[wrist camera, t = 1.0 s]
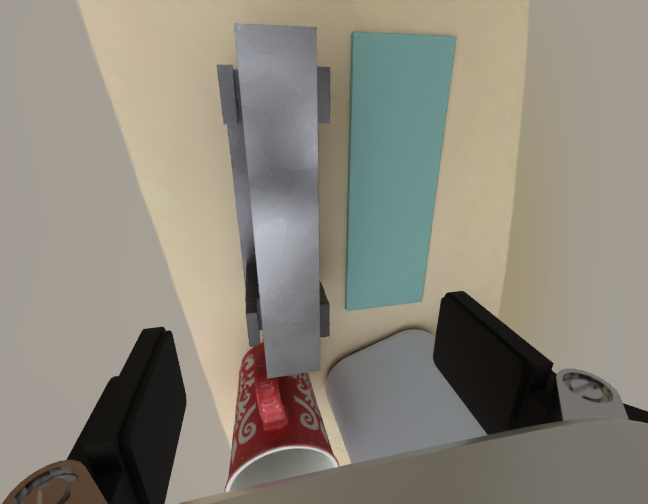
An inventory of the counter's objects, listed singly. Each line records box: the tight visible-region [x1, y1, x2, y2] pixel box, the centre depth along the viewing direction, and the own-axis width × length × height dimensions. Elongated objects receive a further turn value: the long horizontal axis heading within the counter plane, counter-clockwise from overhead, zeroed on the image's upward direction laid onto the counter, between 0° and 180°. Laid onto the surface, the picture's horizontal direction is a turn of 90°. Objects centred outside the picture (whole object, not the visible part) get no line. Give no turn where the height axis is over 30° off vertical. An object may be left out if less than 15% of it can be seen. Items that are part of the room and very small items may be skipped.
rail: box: [234, 24, 320, 379], centre depth 22 cm, size 22×4×4 cm, turn 0°
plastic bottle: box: [326, 329, 487, 464], centre depth 30 cm, size 15×15×28 cm
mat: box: [345, 32, 456, 311], centre depth 32 cm, size 26×9×1 cm, turn 0°
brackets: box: [217, 65, 330, 347], centre depth 26 cm, size 20×7×9 cm, turn 0°
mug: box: [225, 343, 340, 492], centre depth 31 cm, size 13×9×14 cm
